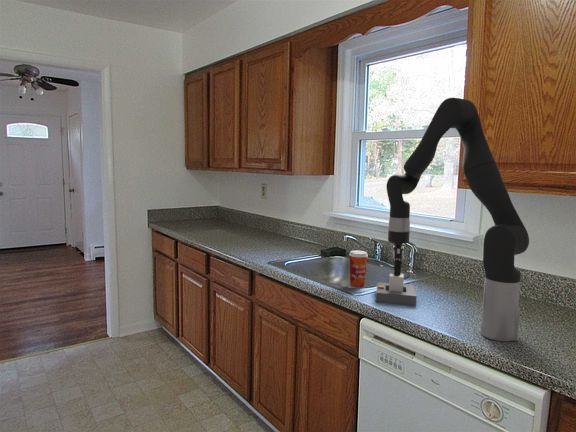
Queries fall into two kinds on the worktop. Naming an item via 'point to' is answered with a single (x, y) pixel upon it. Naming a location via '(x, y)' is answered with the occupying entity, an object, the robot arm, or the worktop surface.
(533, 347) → the worktop surface
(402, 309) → the worktop surface
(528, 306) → the worktop surface
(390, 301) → the socket
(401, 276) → the plug
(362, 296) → the worktop surface
